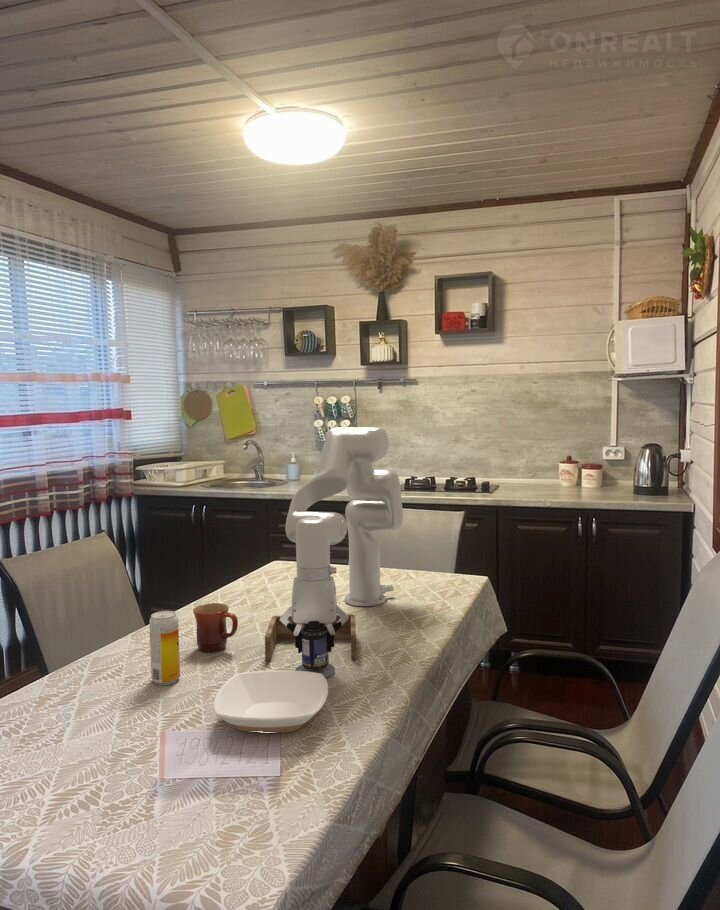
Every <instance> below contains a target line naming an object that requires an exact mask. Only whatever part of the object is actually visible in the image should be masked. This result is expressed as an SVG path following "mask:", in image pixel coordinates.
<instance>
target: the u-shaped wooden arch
mask: <svg viewBox="0 0 720 910" xmlns="http://www.w3.org/2000/svg"><path fill="white" fill-rule="evenodd" d="M346 614H347V615H348V620H347V621H346V622H345V623H344V624H343V625H342V626H341V628H340V629H339V630H338V631H337V632H336V633H335V634H334V640H338V639H339V640H340V639H341V640H343V639H344V640H345V639H350V660H351V661H356V660H357V630H356V629H357V627H356V626H357V624H356V615H355V614H352V613H351V614H348V613H346ZM281 616H282V615H273V616H271V617H270V621H269V624H268V626H267V630H266V633H265V635H264V650H265V651H264V653H265V655H264V658H265V659H264V660H265V663H266V662H271V661H272V658H273V653H274V651H275V647H276V643H277V641H284V640H285V641H288V640H291V641H295V635H294V634H293V633H292V632H291V631H290V630H289V629H288V628H287V626H286V625H284V624H283V623H282V622H281V621H280V617H281ZM340 618H341V617H340V616H339V615H338V614H337V615H336V620H335V621H334V622H333V624H335V623H336V622H337V621H338V620H339V619H340ZM288 619H289V620H290V621H291V622H292V623H294V622H293V621H292V615H290V616H289V617H288ZM294 624H295V625H296V623H294ZM324 626H325V627H326V628H327V626H326V624H324ZM304 627H305V625H304V624H303V625H302V627H301V631H302V629H303V628H304ZM327 630H328V628H327ZM328 632H329V630H328Z"/></svg>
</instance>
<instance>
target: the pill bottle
mask: <svg viewBox="0 0 720 910" xmlns="http://www.w3.org/2000/svg"><path fill="white" fill-rule="evenodd" d="M304 625H305V627H304V628H303V629H302V631H301V641H302V652H301V665H303V667H304V668H306V669H312V670H317V669H323V668H325V667H327V666H328V664H330V660H329V657H330V656H329V653H330V652H328V630H327V628H326V627H325V626H324V624H322V623H320V622H319V621H309V622H308V623H307V624H304Z"/></svg>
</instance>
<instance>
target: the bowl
mask: <svg viewBox="0 0 720 910" xmlns="http://www.w3.org/2000/svg"><path fill="white" fill-rule="evenodd" d="M328 695H329V685H328V681H327V678H326V679H325V677H324V676H323V675H322V674H320V673H314V672H308V671H295V670H287V669H286V670H285V669H276V670H274V669H273V670H270V669H269V670H257V671H256V670H254V671H246V672H239V673H236V674H235V675H233V676H231V677H230V678H228V679H227V680H226V681H225V682H224V683H223V685H221V686H220V688H219V689H218V691H217V692H216V696H215V698H214V700H213V706H212V707H213V708H212V710H213V712H214V715H215V717H216V716H217V717H218V718H220V719H221V720H223V721H224V722H226V723H228V724H230V725H231V726H232V727H234V728H236V729H238V730H239V731H242V732H245V731H263V732H281V733H280V734H282V733H284V734H285V733H292V732H295V731H298V730H299V729H300V728H301V727H303V725H305V723H307V722H308V721H310V720H311V719H312V718H313V717H314V716H315V715H316V714H317V713H318V712H319V711H321V709H323V707H324V705H325V703H326V700H327V698H328Z"/></svg>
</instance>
